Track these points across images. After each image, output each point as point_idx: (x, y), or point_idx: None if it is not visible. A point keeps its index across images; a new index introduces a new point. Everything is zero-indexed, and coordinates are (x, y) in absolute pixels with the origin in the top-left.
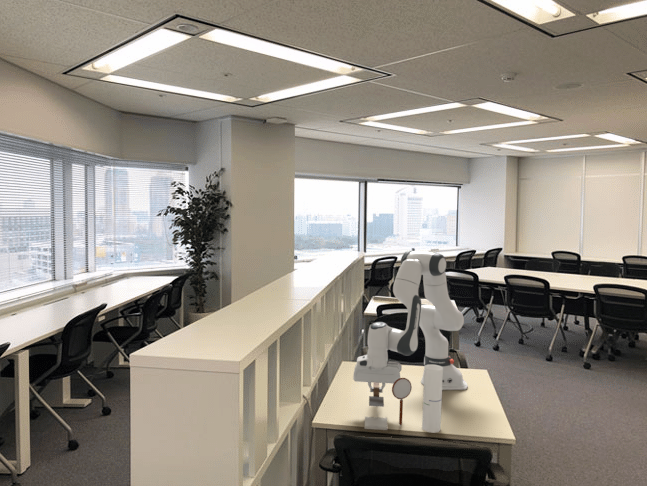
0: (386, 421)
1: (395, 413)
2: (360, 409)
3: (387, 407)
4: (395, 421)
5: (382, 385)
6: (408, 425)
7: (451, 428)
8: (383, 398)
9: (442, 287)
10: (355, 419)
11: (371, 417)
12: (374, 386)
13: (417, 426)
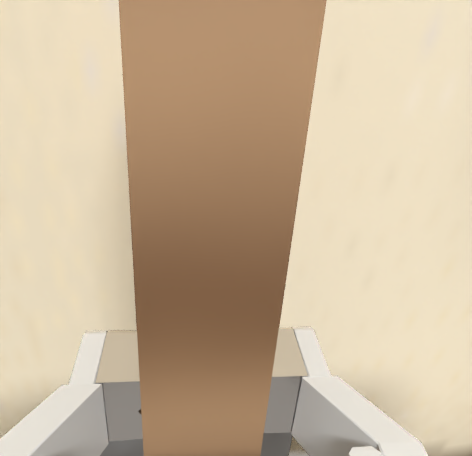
0: None
1: (379, 248)
2: (25, 205)
3: (332, 116)
4: (340, 374)
5: (341, 432)
6: (414, 408)
7: None
8: (288, 453)
9: None
10: (21, 393)
11: None
12: (160, 435)
13: (469, 410)
